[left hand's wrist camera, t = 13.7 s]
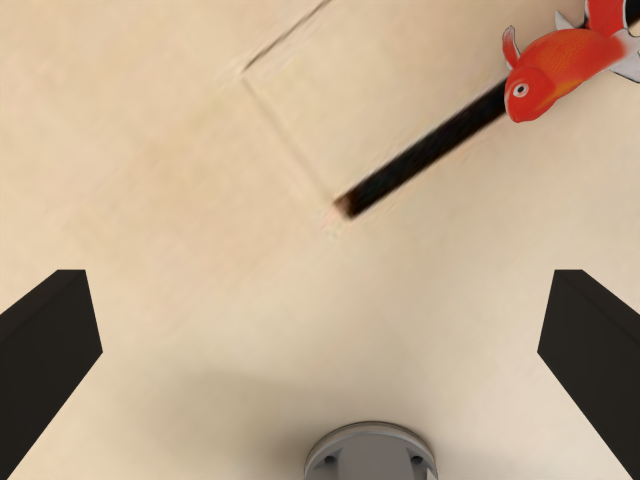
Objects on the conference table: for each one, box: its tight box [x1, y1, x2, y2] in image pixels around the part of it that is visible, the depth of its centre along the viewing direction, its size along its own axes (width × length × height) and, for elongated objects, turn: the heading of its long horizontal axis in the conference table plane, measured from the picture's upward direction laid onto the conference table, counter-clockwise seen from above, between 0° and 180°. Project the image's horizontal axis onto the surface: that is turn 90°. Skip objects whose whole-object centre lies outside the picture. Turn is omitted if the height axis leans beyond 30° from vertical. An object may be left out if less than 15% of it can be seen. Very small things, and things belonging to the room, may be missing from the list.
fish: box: [502, 0, 640, 123], centre depth 31 cm, size 11×16×10 cm
